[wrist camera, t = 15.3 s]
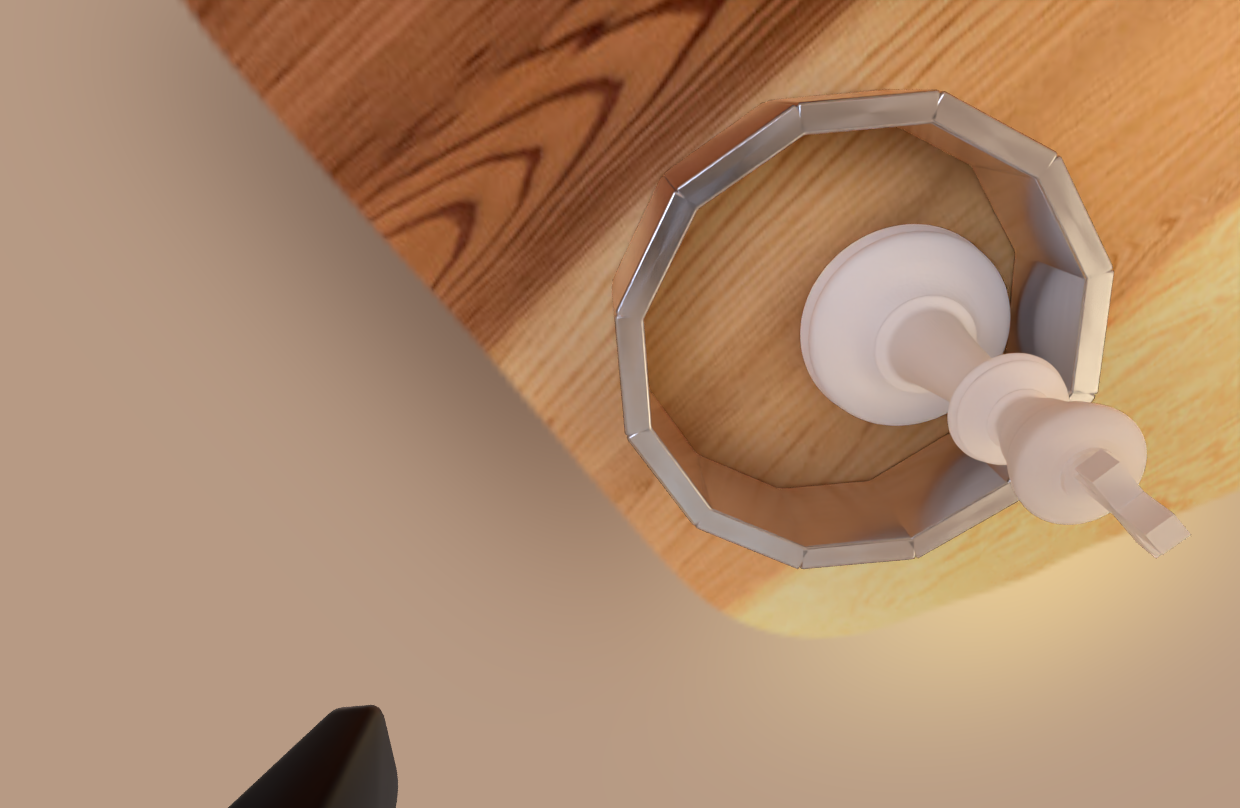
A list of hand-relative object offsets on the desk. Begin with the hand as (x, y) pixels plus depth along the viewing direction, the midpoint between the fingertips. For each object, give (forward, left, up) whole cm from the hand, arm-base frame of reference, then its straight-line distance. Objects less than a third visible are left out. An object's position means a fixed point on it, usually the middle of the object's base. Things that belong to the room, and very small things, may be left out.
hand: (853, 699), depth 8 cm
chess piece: (+5, 0, -13) cm, 14 cm away
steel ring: (+3, 0, -13) cm, 13 cm away
